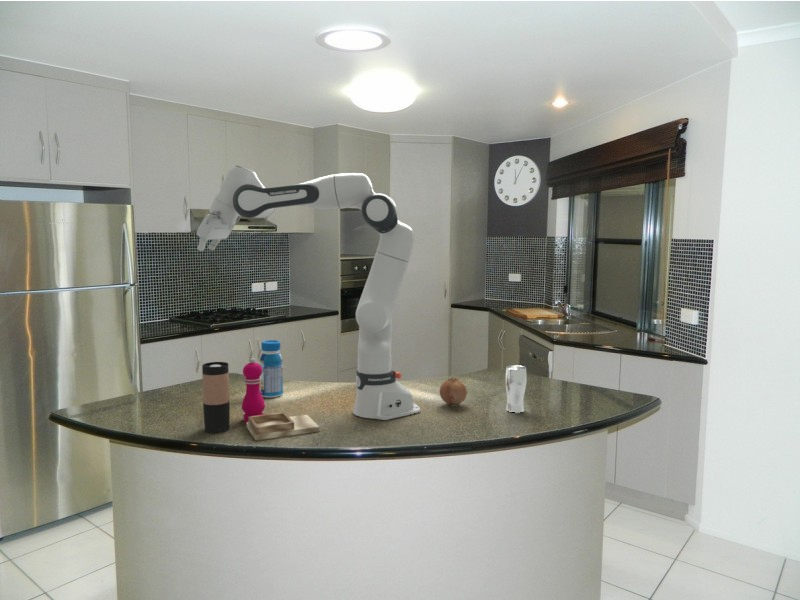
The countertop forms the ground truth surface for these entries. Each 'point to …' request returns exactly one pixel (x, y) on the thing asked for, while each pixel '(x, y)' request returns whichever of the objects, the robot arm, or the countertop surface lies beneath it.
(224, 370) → the travel mug
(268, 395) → the beverage bottle
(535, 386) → the countertop surface
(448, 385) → the onion
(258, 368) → the pepper mill
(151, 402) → the countertop surface
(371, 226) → the robot arm
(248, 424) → the mill holder
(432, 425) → the countertop surface
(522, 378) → the beer glass
